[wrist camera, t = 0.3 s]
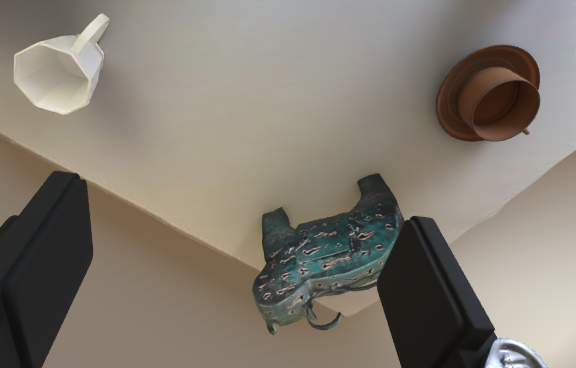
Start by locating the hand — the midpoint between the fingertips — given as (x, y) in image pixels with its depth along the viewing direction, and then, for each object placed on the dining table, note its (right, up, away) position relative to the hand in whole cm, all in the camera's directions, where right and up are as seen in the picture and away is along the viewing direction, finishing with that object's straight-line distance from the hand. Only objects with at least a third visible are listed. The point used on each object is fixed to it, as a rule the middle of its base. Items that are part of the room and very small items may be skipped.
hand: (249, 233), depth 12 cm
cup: (-20, +17, +31) cm, 41 cm away
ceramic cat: (+6, -1, +45) cm, 46 cm away
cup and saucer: (+25, +13, +37) cm, 46 cm away
